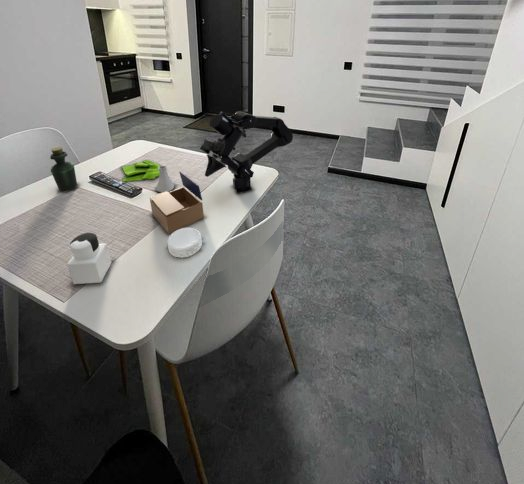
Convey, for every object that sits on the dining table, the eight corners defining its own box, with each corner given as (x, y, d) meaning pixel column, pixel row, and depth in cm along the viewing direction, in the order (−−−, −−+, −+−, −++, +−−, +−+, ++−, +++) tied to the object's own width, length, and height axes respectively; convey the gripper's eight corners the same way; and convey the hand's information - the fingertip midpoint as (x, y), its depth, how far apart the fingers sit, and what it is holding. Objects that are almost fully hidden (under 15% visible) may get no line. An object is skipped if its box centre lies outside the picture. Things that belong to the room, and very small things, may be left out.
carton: (185, 200, 111) (183, 184, 108) (203, 217, 101) (202, 200, 98) (152, 214, 103) (149, 197, 100) (168, 234, 93) (165, 215, 91)
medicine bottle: (86, 264, 82) (75, 230, 77) (112, 262, 82) (103, 228, 78) (73, 285, 75) (60, 249, 70) (101, 283, 76) (90, 247, 71)
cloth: (157, 181, 125) (156, 176, 124) (107, 181, 125) (106, 176, 124) (171, 161, 144) (171, 156, 143) (128, 161, 144) (127, 156, 143)
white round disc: (185, 263, 82) (183, 254, 80) (161, 250, 87) (160, 241, 85) (208, 242, 89) (207, 233, 88) (186, 231, 94) (184, 222, 93)
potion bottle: (83, 182, 124) (73, 144, 117) (72, 192, 117) (60, 152, 110) (64, 183, 124) (53, 144, 117) (52, 193, 116) (39, 153, 110)
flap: (183, 185, 108) (184, 184, 108) (201, 200, 98) (202, 200, 99) (179, 171, 105) (180, 170, 105) (197, 185, 96) (198, 185, 96)
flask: (169, 193, 116) (165, 172, 112) (153, 192, 117) (149, 170, 113) (177, 184, 122) (174, 164, 119) (162, 183, 124) (158, 162, 120)
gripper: (202, 124, 109) (178, 158, 106) (230, 137, 96) (204, 177, 93) (220, 138, 117) (199, 170, 114) (249, 152, 103) (225, 189, 101)
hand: (206, 176), depth 105 cm, fingers closed
